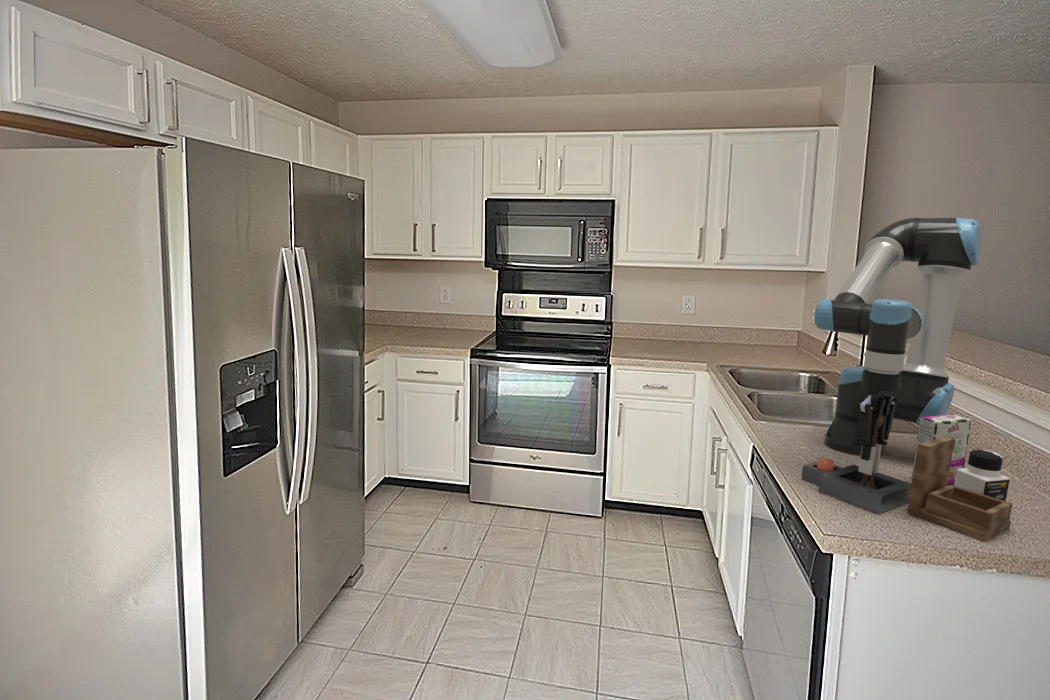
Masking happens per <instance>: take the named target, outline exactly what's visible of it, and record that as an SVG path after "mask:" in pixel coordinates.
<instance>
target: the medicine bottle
mask: <svg viewBox="0 0 1050 700" xmlns="http://www.w3.org/2000/svg"><path fill="white" fill-rule="evenodd" d="M1003 460H1004V458H1003V456H1002V455H1000V454H999V453H998V452H995V451H992V450H987V449H973V450H971V451H969V456H968V460H967V461H968V462H967V467H964V468H961V469H957V471H956V477H955V483H954V486H958V487H961V488H964V489H967V490H970V491H974V492H977V493H980V494H983V495H986V496H990V497H993V498H996V499H999V500H1002V501H1006V502H1007V498H1008V497H1007V496H1008V491H1009V487H1010V486H1009V485H1010V477H1008V476H1006V475H1003V474H1001V472H1002V471H1001V470H1002V466H1003V463H1004V462H1003Z"/></svg>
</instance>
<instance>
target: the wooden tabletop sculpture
mask: <svg viewBox="0 0 1050 700" xmlns="http://www.w3.org/2000/svg"><path fill="white" fill-rule="evenodd" d="M874 413H875V412H874ZM882 423H883V414H882V417H879V418H878V420H877V429H878V428H879V427H880V426H881V425H882ZM878 433H879V432H876V437H875V442H874V447H876V441H877V434H878ZM873 465H874V464H873ZM865 477H866V474H865V473H864V477H863V480H862V481H861V482H860V483H859V484H862V485H865V486H868V487H871V488H874V489H877V487H876V486H875V484H874V483H873V471H872V475H868V474H867V477H866V480H865ZM870 478H871V481H870Z"/></svg>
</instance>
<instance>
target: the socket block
mask: <svg viewBox="0 0 1050 700" xmlns="http://www.w3.org/2000/svg"><path fill="white" fill-rule="evenodd" d="M817 461H818V460H817ZM817 461H813V462H810V463H806V464H803V465H802V470H801V471H802V473H801V480H803V481H805V482H809V483H812V484H813V485H816V486H818V490H817V491H818V492H819V493H822V492H823V493H822V494H824V493H825V494H824V495H827V494H828V495H827V496H830V495H831V496H830V497H832V496H834V497H833V498H835V497H836V499H837V498H838V499H837V500H840V499H841V500H840V501H843V502H845V501H846V503H848V502H849V503H848V504H851V503H852V504H851V505H853V504H854V506H856V505H857V506H856V507H859V506H860V507H859V508H861V507H863V508H862V509H864V508H865V510H867V511H869V512H872V513H874V514H877V515H881V514H884V513H887V512H889V511H891V509H892V510H894V509H896V507H897V508H899V507H901V506H900V505H902V506H904V505H906V503H907V504H909V503H908V502H909V499H910V493H911V486H912V482H907V481H905V480H901V479H899V478H896V477H893V476H890V475H887V474H883V473H880V472H878V473H873V483H874V484H875V486H876V487H877V489H874V488H871V487H868V486H865V485H862V484H859V483H860V482H861V481H862V480H863V477H864V473H862V472H859V471H858V470H859V465H856V464H851V465H849V466H844V467H841V466H837V465H835V464H834V468H833V471H830V472H827V471H824V470H821V469H818V468H817ZM866 477H867V474H866ZM866 477H865V480H866ZM870 481H871V478H870ZM903 504H904V505H903ZM893 508H894V509H893Z"/></svg>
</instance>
